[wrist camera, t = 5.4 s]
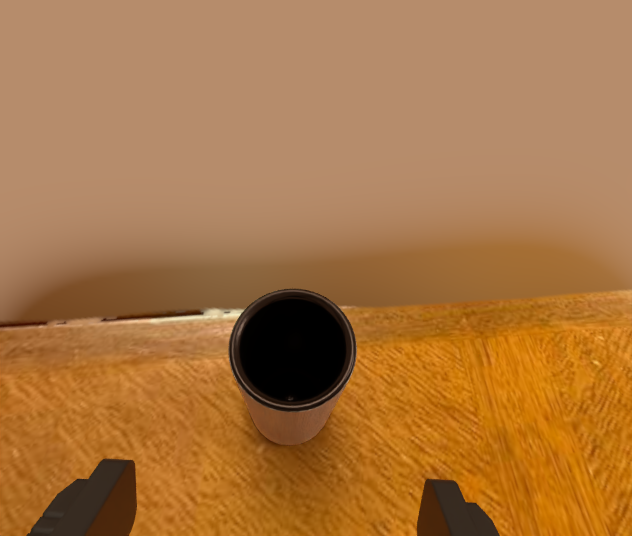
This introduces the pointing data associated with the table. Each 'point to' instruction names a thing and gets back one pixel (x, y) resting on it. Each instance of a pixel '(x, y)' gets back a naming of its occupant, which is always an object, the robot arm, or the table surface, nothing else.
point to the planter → (292, 362)
